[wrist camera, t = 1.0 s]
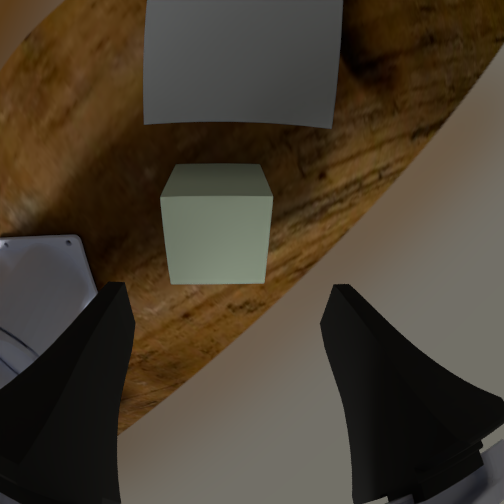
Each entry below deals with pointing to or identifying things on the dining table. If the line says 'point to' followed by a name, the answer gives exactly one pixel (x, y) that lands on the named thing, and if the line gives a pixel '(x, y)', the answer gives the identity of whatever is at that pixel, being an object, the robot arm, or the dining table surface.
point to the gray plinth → (241, 61)
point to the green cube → (216, 223)
